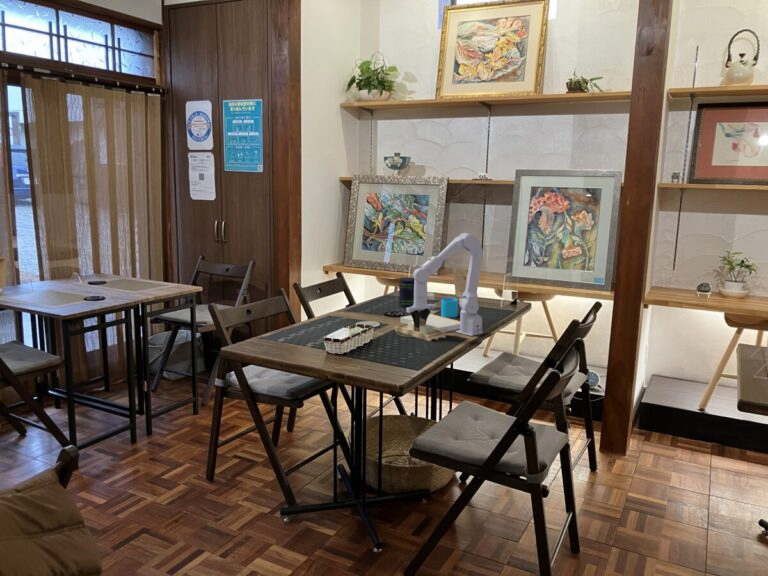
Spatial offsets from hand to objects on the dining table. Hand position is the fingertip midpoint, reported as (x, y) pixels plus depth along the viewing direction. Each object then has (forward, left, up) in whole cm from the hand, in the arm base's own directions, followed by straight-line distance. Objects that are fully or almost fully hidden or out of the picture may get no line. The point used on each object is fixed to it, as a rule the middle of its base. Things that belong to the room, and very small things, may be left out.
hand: (419, 326), depth 272 cm
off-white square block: (+4, 0, -2) cm, 4 cm away
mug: (+19, -39, -4) cm, 44 cm away
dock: (+9, -16, -3) cm, 19 cm away
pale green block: (-4, 0, -2) cm, 5 cm away
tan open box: (0, 0, -4) cm, 4 cm away
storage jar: (+47, -35, -4) cm, 59 cm away
